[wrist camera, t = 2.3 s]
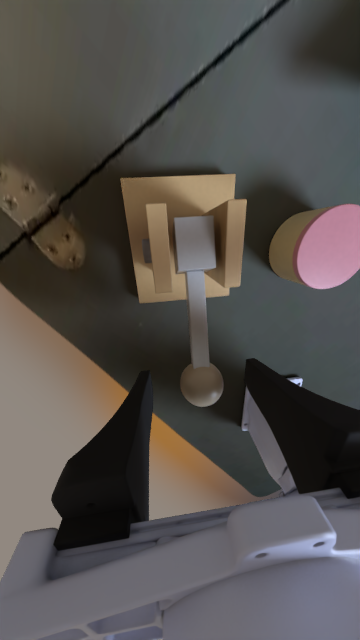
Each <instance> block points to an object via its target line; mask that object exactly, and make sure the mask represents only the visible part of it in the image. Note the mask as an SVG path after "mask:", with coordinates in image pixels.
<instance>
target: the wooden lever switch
mask: <svg viewBox="0 0 360 640" xmlns="http://www.w3.org/2000/svg"><path fill="white" fill-rule="evenodd" d="M120 181H121V188H122V194H123V200H124V207H125V213H126V220H127V226H128V232H129V239H130V245H131V251H132V258H133V264H134V271H135V277H136V283H137V290H138V296H139V302H140V303H150V302H161V301H172V300H184V299H187V298H186V285H185V274H175V262H174V250H173V238H172V228H173V221H174V218H176V217H194V216H212V215H213V216H214V236H215V256H216V268H214V269H212V270H210V271H207V272H204V279H205V295H206V298H207V297H218V296H229V287H239V286H240V280H241V267H242V254H243V246H244V229H245V216H246V204H247V199H234V191H235V174H217V175H191V176H166V177H140V178H120Z"/></svg>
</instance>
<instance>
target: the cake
mask: <svg viewBox="0 0 360 640" xmlns="http://www.w3.org/2000/svg"><path fill="white" fill-rule="evenodd" d="M269 261H270V265H271V267H272V269H273V271H274V272H275V273H276V274H277V275H278V276H279V277H281V278H283V279H286V280H290V281H293V282H296V283H299V284H302V285H305V286H309V287H312V288H315V289H328V288H332V287H335V286H337V285H340V284H341V283H343V282H345V281H346V280H348V279H349V278H350V277H352V276H353V275H354V274H355V273H356V272H357V271H358V270H359V269H360V206H358V205H355V204H343V205H337V206H332V207H326V208H321V209H316V210H311V211H305V212H301V213H298V214H295V215H293V216H292V217H290V218H289V219H287V220H286V221H285V222H284V223H283V224H282V225H281V226H280V227H279V228H278V230H277V231H276V233H275V235H274V236H273V239H272V241H271V244H270V249H269Z"/></svg>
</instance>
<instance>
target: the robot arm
mask: <svg viewBox="0 0 360 640" xmlns="http://www.w3.org/2000/svg"><path fill="white" fill-rule="evenodd" d="M244 381H245V384H246V392H245V400H244V408H243V417H242V425H241V428H242V430H243V431H247V430H249V432H250V434H251V436H252V439H253V441H254V443H255V445H256V447H257V449H258V451H259V454H260V456H261V458H262V460H263V462H264V464H265V466H266V469H267V470H268V472H269V474H270V475H271V477H272V478H273V479H274V480H275V481H276V482H277V483H278V484H279V485H280V486H281V488H282V490H283V491H282V492H280V494H279V497H278V498H273V499H267V500H261V501H255V502H250V503H247V504H242V505H236V506H230V507H225V508H219V509H213V510H207V511H201V512H196V513H190V514H184V515H179V516H173V517H167V518H161V519H155V520H150V521H149V440H150V430H151V421H152V412H153V388H152V382H151V375H150V370H147V371H141V372H140V373H139V376H138V378H137V380H136V382H135V384H134V386H133V387H132V389H131V391H130V392H129V394H128V396H127V397H126V399H125V400H124V402H123V404H122V405H121V406H120V408H119V409H118V410H117V412H116V413H115V414H114V416H113V417H112V418H111V419H110V420H109V422H108V423H107V424H106V425H105V426H104V427H103V428H102V430H101V431H100V432H99V433H98V434H97V435H96V436H95V437H94V438H93V439H92V440H91V441H90V442H89V443H88V444H87V445H85V446H84V447H83V448H82V449H81V450H80V451H79V452H78V453H76V454H75V455H74V456H73V457H72V458H70V459H69V460H68V462H67V464H66V466H65V467H64V469H63V471H62V473H61V476H60V478H59V480H58V482H57V485H56V487H55V490H54V492H53V494H52V499H51V501H52V503H53V506H54V507H55V509H56V510H57V511H58V513H59V514H60V516H61V517H62V521H61V524H60V527H59V530H58V529H56V528H46V529H40V530H34V531H29V532H25V533H24V534H22V536H21V538H20V540H19V543H18V545H17V547H16V549H15V551H14V553H13V555H12V558H11V560H10V562H9V564H8V566H7V569H6V571H5V573H4V575H3V577H2V579H1V582H0V640H158V639H163V640H360V410H357V409H354V408H351V407H348V406H345V405H342V404H340V403H337V402H334V401H332V400H329V399H327V398H324V397H322V396H320V395H317V394H315V393H313V392H311V391H309V390H307V389H305V388H303V387H301V384H302V381H303V380H302V378H301V377H293V378H285V377H283V376H281V375H280V374H278V373H277V372H275V371H273V370H272V369H270V368H269V367H267V366H266V365H264V364H263V363H261V362H260V361H258V360H256V359H255V358H252V359H246V367H245V376H244Z"/></svg>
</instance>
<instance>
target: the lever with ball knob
mask: <svg viewBox="0 0 360 640" xmlns="http://www.w3.org/2000/svg"><path fill="white" fill-rule="evenodd" d="M172 238H173V250H174V262H175V274H185V285H186V298H187V311H188V324H189V337H190V350H191V364H190V365H188V366H187V367H186V368H185V369H184V371H183V373H182V375H181V379H180V387H181V391H182V393H183V395H184V397H185V398H186V399H187V400H188V401H189V402H190V403H192V404H194V405H196V406H201V407H205V406H209V405H212V404H214V403H215V402H216V401H217V400H218V399H219V398H220V396H221V394H222V392H223V386H224V383H223V378H222V375H221V373H220V371H219V370H218V369H217V368H216V367H215V366H214V365H213V364H211V363H209V346H208V329H207V312H206V295H205V279H204V272H207V271H210V270H212V269H214V268H216V256H215V236H214V216H213V215H212V216H194V217H176V218H174V221H173V228H172Z"/></svg>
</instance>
